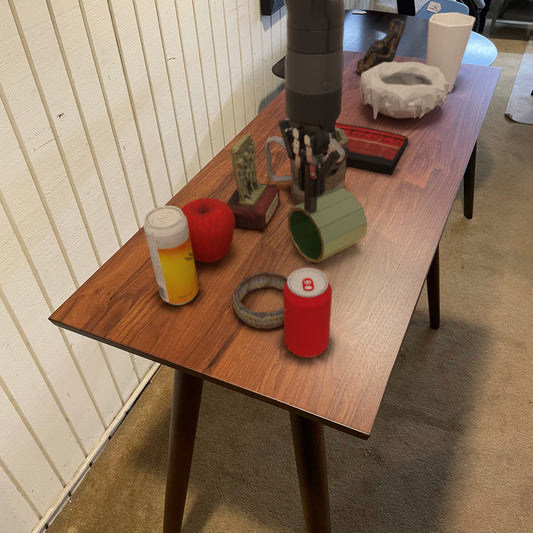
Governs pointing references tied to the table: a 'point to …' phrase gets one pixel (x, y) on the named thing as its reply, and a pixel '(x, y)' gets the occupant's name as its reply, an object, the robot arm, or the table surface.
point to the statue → (383, 47)
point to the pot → (326, 222)
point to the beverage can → (307, 312)
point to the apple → (209, 228)
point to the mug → (297, 194)
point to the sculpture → (250, 189)
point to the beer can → (171, 254)
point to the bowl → (403, 89)
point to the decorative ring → (253, 284)
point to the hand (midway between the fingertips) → (310, 192)
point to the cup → (448, 43)
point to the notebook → (373, 148)
